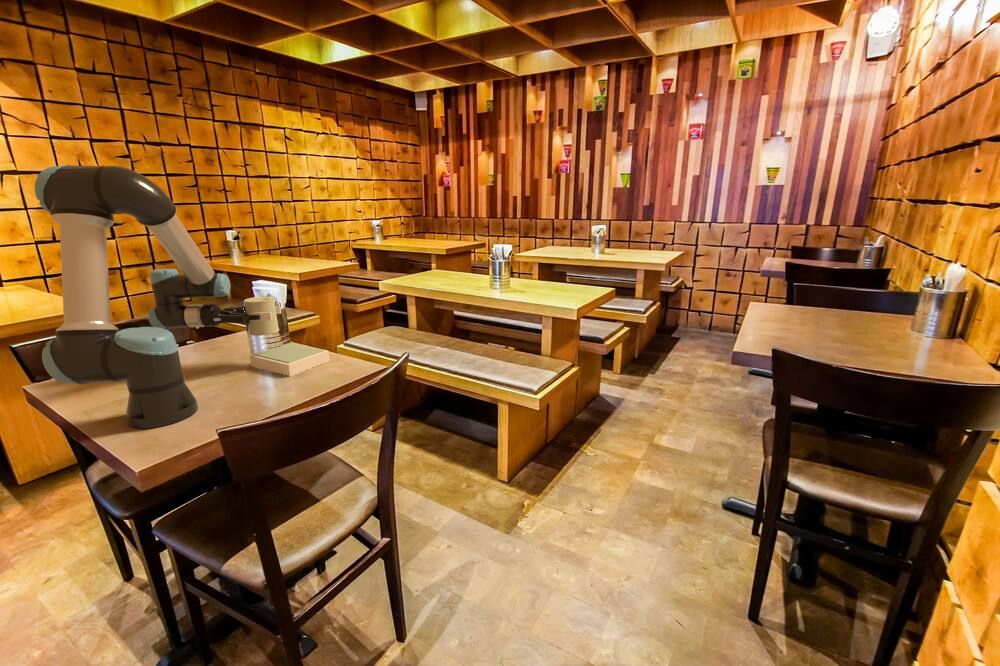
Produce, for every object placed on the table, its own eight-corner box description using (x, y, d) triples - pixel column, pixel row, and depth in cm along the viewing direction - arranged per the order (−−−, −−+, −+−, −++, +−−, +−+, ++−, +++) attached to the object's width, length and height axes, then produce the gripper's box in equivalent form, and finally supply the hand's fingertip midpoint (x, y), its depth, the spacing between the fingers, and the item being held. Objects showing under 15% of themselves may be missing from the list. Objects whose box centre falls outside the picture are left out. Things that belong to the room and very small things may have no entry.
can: (271, 335, 149) (266, 300, 146) (243, 335, 149) (237, 300, 146) (284, 328, 158) (279, 294, 155) (257, 328, 158) (252, 295, 155)
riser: (329, 361, 158) (328, 349, 157) (290, 376, 145) (288, 363, 143) (291, 353, 167) (290, 341, 166) (251, 366, 154) (249, 354, 153)
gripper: (220, 318, 161) (287, 316, 164) (190, 335, 140) (266, 332, 143) (217, 298, 159) (284, 295, 162) (185, 312, 138) (262, 309, 141)
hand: (275, 312), depth 153 cm, fingers closed on can, 9 cm apart
